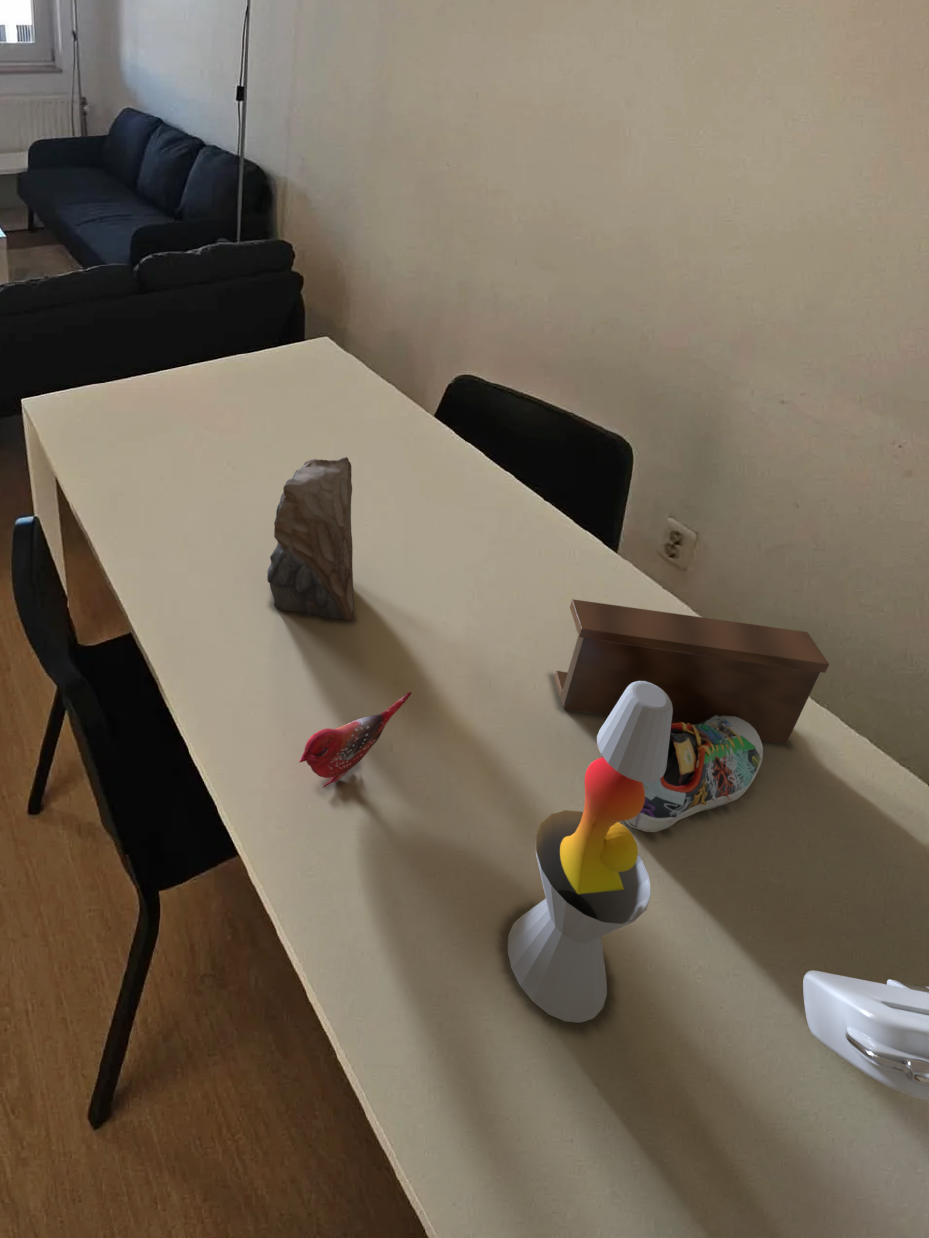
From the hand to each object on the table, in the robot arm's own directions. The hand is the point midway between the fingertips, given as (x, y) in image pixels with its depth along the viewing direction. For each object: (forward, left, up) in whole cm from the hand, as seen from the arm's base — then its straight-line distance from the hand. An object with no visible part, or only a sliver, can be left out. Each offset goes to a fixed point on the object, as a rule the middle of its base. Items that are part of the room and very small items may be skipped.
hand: (909, 996), depth 55 cm
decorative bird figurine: (+39, -23, -17) cm, 48 cm away
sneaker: (+1, -28, -17) cm, 33 cm away
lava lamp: (+20, -7, -17) cm, 27 cm away
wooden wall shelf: (0, -38, -17) cm, 41 cm away
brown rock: (+45, -49, -17) cm, 68 cm away
